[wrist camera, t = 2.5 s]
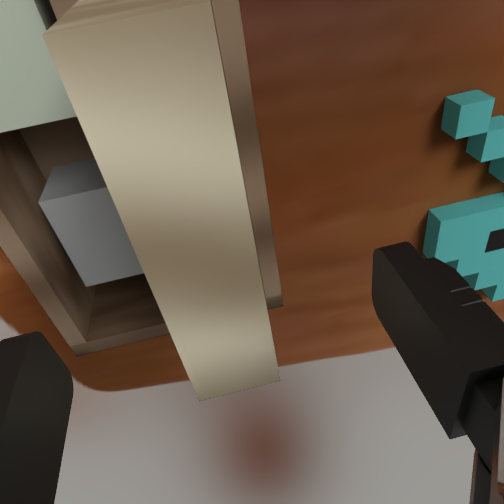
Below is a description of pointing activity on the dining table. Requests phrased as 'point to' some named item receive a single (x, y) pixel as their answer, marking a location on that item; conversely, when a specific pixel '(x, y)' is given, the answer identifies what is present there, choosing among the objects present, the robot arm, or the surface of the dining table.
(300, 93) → the dining table surface
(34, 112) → the sage offcut
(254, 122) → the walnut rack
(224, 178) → the birch panel
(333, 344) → the dining table surface
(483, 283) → the alien figure
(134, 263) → the grey offcut
